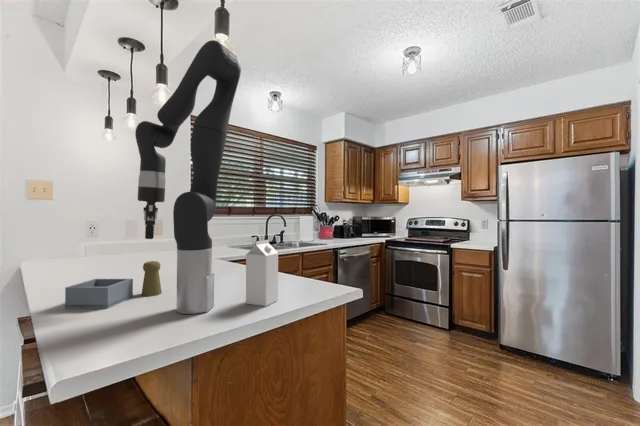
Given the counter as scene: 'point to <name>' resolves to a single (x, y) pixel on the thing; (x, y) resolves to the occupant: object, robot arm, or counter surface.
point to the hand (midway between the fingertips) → (149, 237)
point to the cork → (151, 279)
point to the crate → (98, 293)
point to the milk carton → (262, 274)
